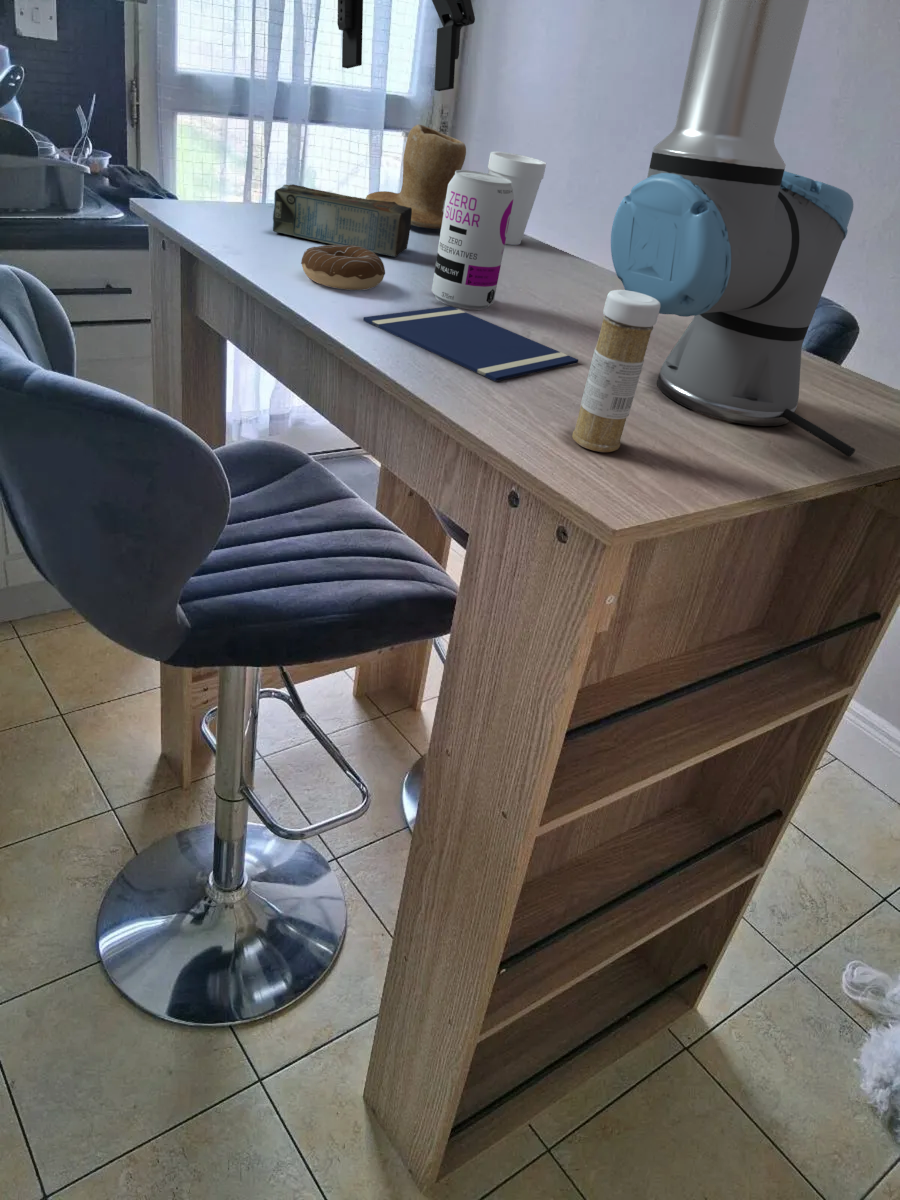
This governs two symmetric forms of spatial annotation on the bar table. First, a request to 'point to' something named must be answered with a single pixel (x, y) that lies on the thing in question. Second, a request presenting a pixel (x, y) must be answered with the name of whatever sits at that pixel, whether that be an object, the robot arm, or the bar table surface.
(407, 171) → the tan boot
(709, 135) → the robot arm
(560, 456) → the bar table surface
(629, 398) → the sprinkles bottle
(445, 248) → the white soda can
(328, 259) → the donut
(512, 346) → the tea towel
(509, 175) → the foam cup
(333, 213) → the beverage carton
